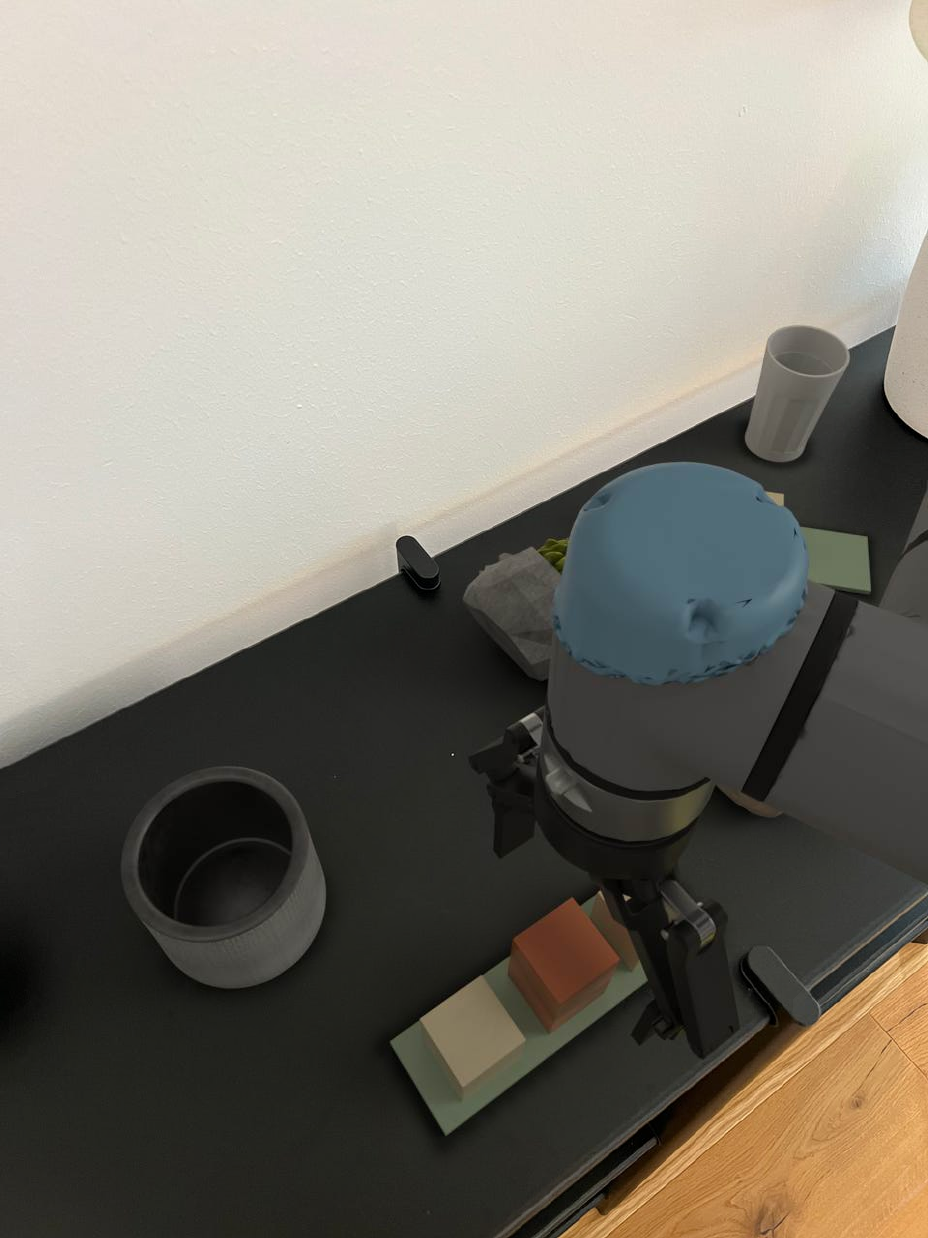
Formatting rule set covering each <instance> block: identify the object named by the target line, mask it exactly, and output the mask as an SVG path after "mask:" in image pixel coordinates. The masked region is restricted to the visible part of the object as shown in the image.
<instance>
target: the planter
mask: <svg viewBox="0 0 928 1238" xmlns="http://www.w3.org/2000/svg"><path fill="white" fill-rule="evenodd" d="M139 811H140V812H139V813H138V814H137V815H136V817H135V819H134V820H133V822H132V824H131V825H130V828H129V830H128V832H127V834H126V837H125V840H124V843H123V846H122V852H121V856H120V857H121V858H120V877H121V884H122V888H123V891H124V894H125V896H126V899H127V901H128V903H129V905H130V907H131V909H132V911H134V913H135V914H136V915H137V917H138V918H139V919H140V921H141V922H142V923H143V925H144V926H145V927H146V928H147V930H148V931H149V933H150V934H151V935H152V936H153V938H154V939H155V941H156V942H157V943H158V945H159V947H161V949H162V951H163V952H164V954H166V956H167V957H168V958H169V960H170V961H171V962H172V963H173V965H174V966H175V967H176V968H177V969H179V971H181V972H182V973H184V974H185V976H188V977H189V978H191V979H192V980H195V981H197V982H198V983H201V984H203V985H207V986H210V987H214V988H219V989H229V990H230V989H244V988H250V987H254V986H257V985H260V984H263V983H266V982H268V981H271V980H272V979H274V978H276V977H278V976H280V975H281V974H283V973H284V972H286V971H287V970H289V969H290V968H291V967H292V966H294V965H295V964H296V963H297V962H298V961H299V960H300V959H301V958H302V956H303V955H304V954H305V953H306V952H307V951H308V949H309V948H310V946H311V945H312V943H313V942H314V940H315V939H316V937H317V935H318V932H319V931H320V928H321V926H322V923H323V918H324V915H325V910H326V903H327V888H326V879H325V875H324V872H323V871H324V870H323V868H322V865H321V862H320V858H319V856H318V854H317V850H316V847H315V845H314V842H313V839H312V836H311V832H310V830H309V826H308V823H307V819H306V817H305V815H304V812H303V810H302V808H301V806H300V804H299V802H298V800H297V799H296V797H295V796H294V795H293V794H292V793H291V791H289V789H287V787H286V786H284V785H283V784H282V783H281V782H279V781H278V780H276V779H275V778H274V777H272V776H270V775H269V774H266V773H264V772H261V771H258V770H255V769H252V768H247V767H242V766H231V765H230V766H229V765H228V766H227V765H226V766H225V765H223V766H213V767H209V768H204V769H200V770H197V771H193V772H191V773H189V774H186V775H185V776H181V777H180V778H178V779H176V780H174V781H172V782H171V783H169V784H168V785H166V786H165V787H163V788H162V789H161V790H160V791H158V792H157V793H156V794H155V795H154V796H153V797H152V798H151V799H150V800H149V801H148V802H146V804H144V806H143V807H142V809H141V810H139Z"/></svg>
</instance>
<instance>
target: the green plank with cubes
mask: <svg viewBox="0 0 928 1238" xmlns="http://www.w3.org/2000/svg"><path fill="white" fill-rule="evenodd" d="M623 896H624V898H625V901H627V900H628V899H630V898H631V897H628V896H626V895H623ZM579 906H580V908H581V909H582V910H583V911H584V913H585V914H586V915H587V917H588V918H589V919H590V921H591V922H592V923H593V924H594V926H595V927H596V928H597V930H598V931H599V932H600V934H601V935H602V936H603V937H604V939H605V940H606V941H607V943H608V944H609V945H610V947H611V948H612V949H613V950H614V952H615V953H616V954H617V956H618V957H619V958H620V961H619V963H618V965H617V967H616V969H615V971H614V974H613V976H612V978H611V980H610V982H609V984H608V986H607V989H606V991H605V993H604V994H602V995H601V996H600V997H599V998H597V999H596V1000H595V1001H593V1002H592V1003H591V1004H589V1005H588V1006H587V1007H585V1008H584V1009H583V1010H581V1011H580V1012H579V1013H577V1014H576V1015H575V1016H574V1017H572V1018H571V1019H570V1020H568V1021H567V1022H566V1023H564V1024H563V1025H562V1026H560V1027H559V1028H558V1029H556V1030H555V1031H554V1032H552V1033H551V1034H549V1033H548V1032H547V1030H546V1029H545V1028H544V1026H543V1025H542V1023H541V1022H540V1020H539V1019H538V1018H537V1016H536V1015H535V1013H534V1012H533V1010H532V1009H531V1007H530V1006H529V1005H528V1003H527V1002H526V1000H525V999H524V997H523V996H522V994H521V993H520V992H519V990H518V989H517V987H516V986H515V984H514V983H513V982H512V980H511V979H510V977H509V976H508V968H509V961H510V955H509V956H508V957H507V958H505V959H504V960H502V961H501V962H499V963H498V964H496V965H494V966H493V967H492V968H491V969H490V970H488V971H487V972H485V973H484V974H483V975H482V974H481V975H479V976H478V977H476V978H475V979H473V980H472V981H471V982H469V983H468V984H466V985H465V986H464V987H462V988H461V989H459V990H458V991H456V992H455V993H454V994H453V995H451V996H450V997H448V998H446V999H445V1000H444V1001H443V1002H441V1003H439V1005H437V1006H436V1007H434V1008H433V1009H432V1010H430V1011H428V1012H427V1013H426V1014H425V1015H423V1016H421V1017H420V1018H419V1020H418V1021H416V1022H415V1023H414V1024H412V1025H410V1027H408V1028H407V1029H405V1030H404V1031H402V1032H401V1033H399V1034H398V1035H397V1036H395V1037H394V1038H393V1039H391V1040H390V1041H389V1044H390V1046H391V1047H392V1049H393V1051H394V1053H395V1054H396V1056H397V1057H398V1059H399V1061H400V1062H401V1064H402V1066H403V1067H404V1070H405V1072H407V1074H408V1077H409V1078H410V1079H411V1081H412V1083H413V1085H414V1086H415V1088H416V1089H417V1091H418V1092H419V1094H420V1096H421V1098H422V1099H423V1101H424V1102H425V1104H426V1106H427V1108H428V1109H429V1111H430V1113H431V1114H432V1116H433V1118H434V1119H435V1121H436V1123H437V1124H438V1126H439V1128H440V1129H441V1131H442V1133H443V1134H444V1136H445V1137H447V1136H449V1135H450V1134H451V1133H453V1132H454V1131H455V1130H456V1129H458V1128H459V1127H461V1125H463V1124H464V1123H465V1122H467V1121H468V1120H470V1118H472V1117H473V1116H474V1115H475V1114H477V1113H478V1112H480V1111H481V1110H482V1109H483V1108H485V1107H486V1106H488V1105H489V1104H490V1103H492V1101H494V1100H495V1099H496V1098H498V1097H499V1096H500V1095H501V1094H503V1093H504V1092H505V1091H507V1090H508V1089H509V1088H511V1087H512V1086H513V1085H515V1084H516V1083H518V1082H519V1081H521V1080H522V1079H523V1078H524V1077H525V1076H527V1075H528V1074H529V1073H530V1072H532V1071H533V1070H534V1069H535V1068H537V1067H538V1066H539V1065H541V1064H542V1063H543V1062H544V1061H546V1060H547V1059H549V1058H550V1057H551V1056H553V1055H554V1054H555V1053H556V1052H557V1051H559V1050H561V1048H563V1047H564V1046H565V1045H567V1044H568V1043H569V1042H570V1041H572V1040H573V1039H574V1038H576V1037H577V1036H578V1035H580V1034H581V1033H582V1032H584V1031H585V1030H586V1029H587V1028H589V1027H590V1026H592V1024H594V1023H596V1021H598V1020H599V1019H600V1018H602V1017H603V1016H605V1015H606V1014H607V1013H608V1012H610V1011H611V1010H612V1009H613V1008H615V1007H616V1006H617V1005H619V1004H620V1003H621V1002H622V1001H624V1000H625V999H627V998H628V997H629V996H630V995H632V994H633V993H634V992H636V991H637V990H638V989H639V988H641V987H643V985H644V984H646V983H648V980H647V978H646V975H645V973H644V970H643V968H642V965H641V963H640V960H639V958H638V956H637V953H636V951H635V948H634V946H633V943H632V941H631V938H630V936H629V933H628V931H627V929H626V928H625V927H623V926H622V925H620V924H619V923H617V922H616V921H615V920H613V918H612V917H611V914H610V912H609V909H608V907H607V904H606V902H605V900H604V897H603V895H602V892H601V890H600V889H599V891H597V893H596V894H595V895H594V896H592V897H591V898H589V899H588V900H586V901H585V902H584V903H583V904H581V905H579Z"/></svg>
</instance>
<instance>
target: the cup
mask: <svg viewBox="0 0 928 1238" xmlns="http://www.w3.org/2000/svg"><path fill="white" fill-rule="evenodd" d="M762 358H763V359H762V364H761V368H760V374H759V378H758V383H757V387H756V391H755V395H754V398H753V399H754V400H753V405H752V407H751V411H750V416H749V422H748V426H747V428H746V431H745V434H744V441H745V444H746V447H747V448H748V449H749V450H750V452H752V453H753V454H754V455H756V456H757V457H759V458H761V459H762V460H765V461H768V462H772V463H773V462H774V463H787V462H792V461H794V460H796V459H798V458H799V457H800V456H802V454H803V453H804V451H805V449H806V446H807V443H808V441H809V439H810V437H811V435H812V433H813V431H814V428H815V427H816V425H817V423H818V421H819V419H820V416H821V415H822V413H823V412H824V411H825V408H826V405H827V404H828V402H829V400H830V398H831V396H832V394H833V393H834V391H835V389H836V387H837V385H838V383H839V382H840V380H841V378H842V377H843V374H844V373H845V372H846V369H847V367H848V366H849V363H850V359H851V355H850V351H849V348H848V347H847V345H846V344H845V343H844V342H843V341H842V340H841V339H840V338H839V337H838V336H836V335H835V334H833V333H832V332H830V331H828V330H825V329H824V328H820V327H817V326H811V325H805V324H804V325H803V324H795V325H788V326H787V325H786V326H783V327H781V328H779V329H776V330H775V331H774V332H772V333H771V334H770V335H769V336H768V338H767V340H766V345H765V350H764V354H763V357H762Z"/></svg>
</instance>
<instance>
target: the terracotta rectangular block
mask: <svg viewBox="0 0 928 1238" xmlns="http://www.w3.org/2000/svg"><path fill="white" fill-rule="evenodd" d="M580 906H581V905H579V904H578V902H577V900H575V898H574V897H569V899H567V900H566V901H564V902H563V903H562V904H561V905H559V906H558V907H556V908H554V909H553V910H552V911H550V912H549V913H548V914H546V915H545V916H543V917H541V919H539V920H537V922H535V923H534V924H532V925H530V926H529V927H528V928H526V929H524V931H522V932H521V933H519V934H517V935H516V936H515V937H513V938H512V942H511V949H510V954H509V956H510V961H509V968H508V976H509V977H510V979H511V980H512V982H513V983H514V984H515V986H516V987H517V989H518V990H519V992H520V993H521V994H522V996H523V997H524V999H525V1000H526V1002H527V1003H528V1005H529V1006H530V1007H531V1009H532V1010H533V1012H534V1013H535V1015H536V1016H537V1018H538V1019H539V1020H540V1022H541V1023H542V1025H543V1026H544V1028H545V1029H546V1030H547V1032H548V1033H549V1034H551V1033H552V1032H554V1031H555V1030H556V1029H558V1028H559V1027H560V1026H562V1025H563V1024H564V1023H566V1022H567V1021H568V1020H570V1019H571V1018H572V1017H574V1016H575V1015H576V1014H577V1013H579V1012H580V1011H581V1010H583V1009H584V1008H585V1007H587V1006H588V1005H589V1004H591V1003H592V1002H593V1001H595V1000H596V999H597V998H599V997H600V996H601V995H602V994H604V993H605V991H606V989H607V986H608V984H609V982H610V980H611V978H612V976H613V974H614V971H615V969H616V967H617V965H618V963H619V961H620V958H619V957H618V956H617V954H616V953H615V952H614V950H613V949H612V948H611V947H610V945H609V944H608V943H607V941H606V940H605V939H604V937H603V936H602V935H601V934H600V932H599V931H598V930H597V928H596V927H595V926H594V924H593V923H592V922H591V921H590V919H589V918H588V917H587V915H586V914H585V913H584V911H583V910H582V909H581V908H580Z"/></svg>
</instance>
